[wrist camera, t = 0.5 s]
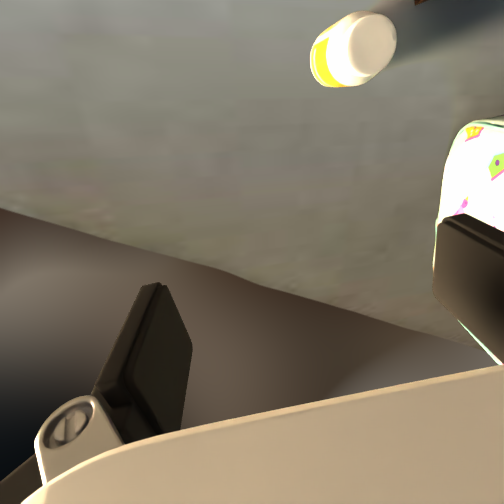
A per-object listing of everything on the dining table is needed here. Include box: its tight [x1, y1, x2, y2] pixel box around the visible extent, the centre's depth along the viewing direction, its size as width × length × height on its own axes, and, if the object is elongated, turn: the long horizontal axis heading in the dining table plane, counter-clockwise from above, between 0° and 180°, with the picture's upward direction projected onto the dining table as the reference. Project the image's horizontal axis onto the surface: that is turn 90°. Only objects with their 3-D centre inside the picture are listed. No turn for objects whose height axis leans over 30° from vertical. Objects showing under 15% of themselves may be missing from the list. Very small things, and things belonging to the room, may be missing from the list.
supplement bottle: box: [310, 11, 397, 87], centre depth 27 cm, size 5×5×10 cm
